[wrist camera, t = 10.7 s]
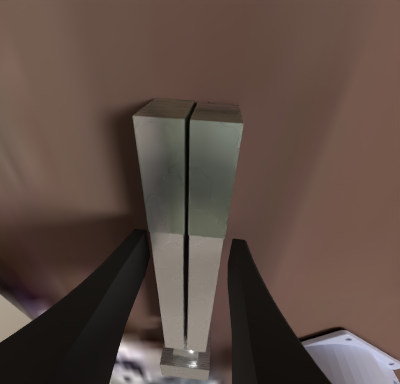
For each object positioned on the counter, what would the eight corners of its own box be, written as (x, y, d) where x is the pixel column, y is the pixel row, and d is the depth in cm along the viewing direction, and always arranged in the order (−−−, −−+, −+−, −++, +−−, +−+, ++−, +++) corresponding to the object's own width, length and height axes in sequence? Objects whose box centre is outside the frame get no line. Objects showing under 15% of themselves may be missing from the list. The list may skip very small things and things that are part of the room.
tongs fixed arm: (208, 344, 22) (207, 380, 20) (168, 339, 23) (162, 374, 20) (251, 104, 8) (263, 129, 6) (143, 97, 8) (110, 118, 6)
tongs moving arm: (206, 332, 20) (204, 363, 18) (177, 329, 20) (172, 359, 18) (238, 104, 8) (243, 123, 6) (167, 100, 8) (150, 117, 6)
